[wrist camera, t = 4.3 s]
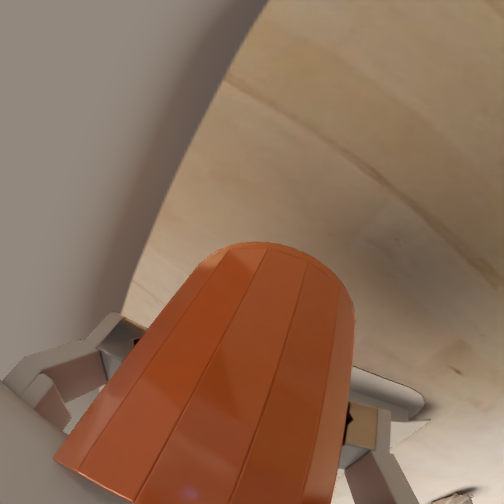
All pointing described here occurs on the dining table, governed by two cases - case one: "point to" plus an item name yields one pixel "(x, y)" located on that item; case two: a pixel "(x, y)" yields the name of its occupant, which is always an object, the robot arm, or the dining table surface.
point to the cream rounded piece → (456, 499)
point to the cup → (229, 389)
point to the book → (388, 403)
